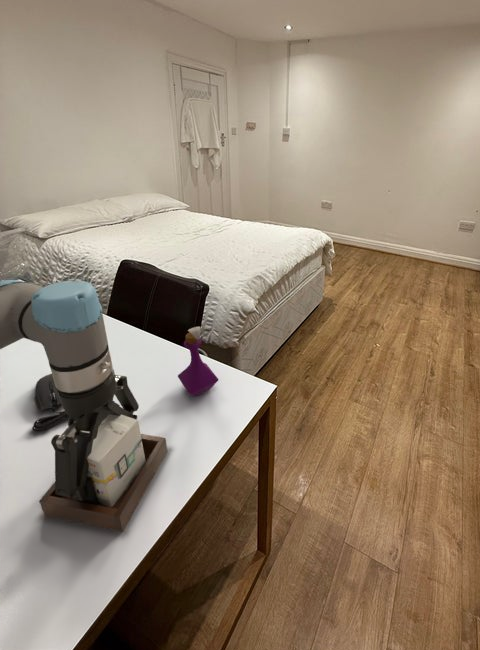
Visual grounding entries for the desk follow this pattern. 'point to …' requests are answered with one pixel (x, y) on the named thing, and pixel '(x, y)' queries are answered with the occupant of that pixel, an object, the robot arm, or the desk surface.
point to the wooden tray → (123, 507)
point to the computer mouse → (47, 403)
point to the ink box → (115, 458)
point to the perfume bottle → (196, 367)
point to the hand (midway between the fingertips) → (110, 473)
